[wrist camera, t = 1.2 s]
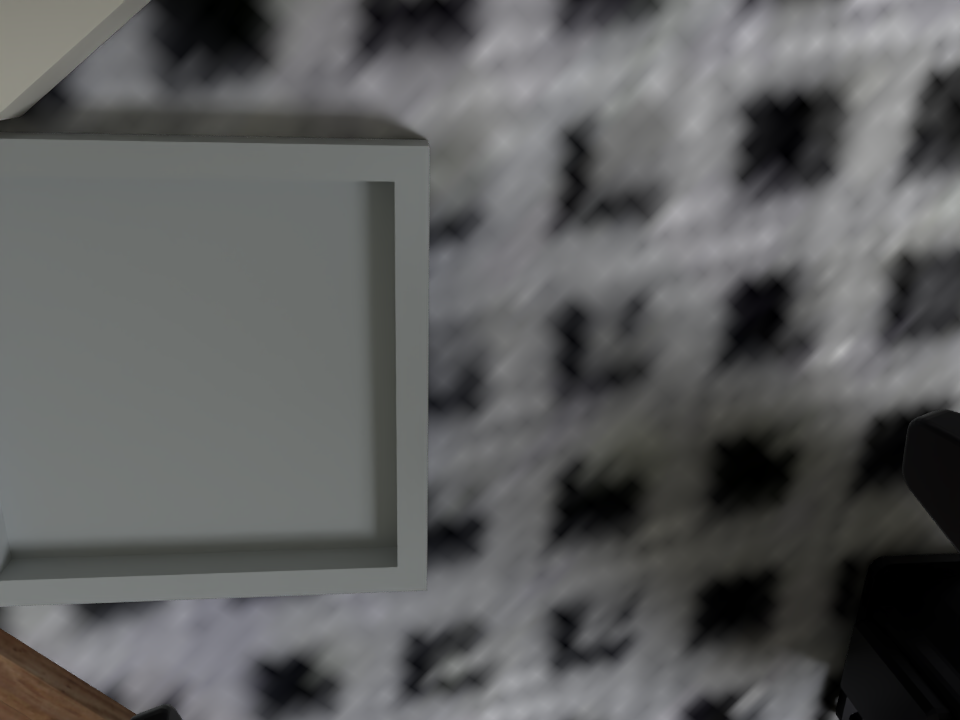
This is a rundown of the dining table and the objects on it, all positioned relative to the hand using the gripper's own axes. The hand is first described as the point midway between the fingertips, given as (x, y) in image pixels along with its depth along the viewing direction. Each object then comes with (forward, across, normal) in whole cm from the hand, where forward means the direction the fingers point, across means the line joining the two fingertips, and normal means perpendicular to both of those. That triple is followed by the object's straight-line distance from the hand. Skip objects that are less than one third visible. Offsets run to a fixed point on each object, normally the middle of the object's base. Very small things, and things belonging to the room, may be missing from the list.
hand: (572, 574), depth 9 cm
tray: (+14, +5, +4) cm, 15 cm away
